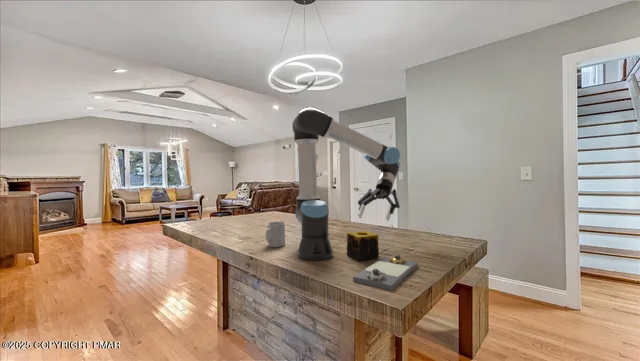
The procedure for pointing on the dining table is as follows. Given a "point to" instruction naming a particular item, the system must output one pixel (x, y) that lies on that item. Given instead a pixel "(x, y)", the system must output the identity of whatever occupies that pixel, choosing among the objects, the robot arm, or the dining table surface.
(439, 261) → the dining table surface
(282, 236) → the mug
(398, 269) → the gear board
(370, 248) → the candle
